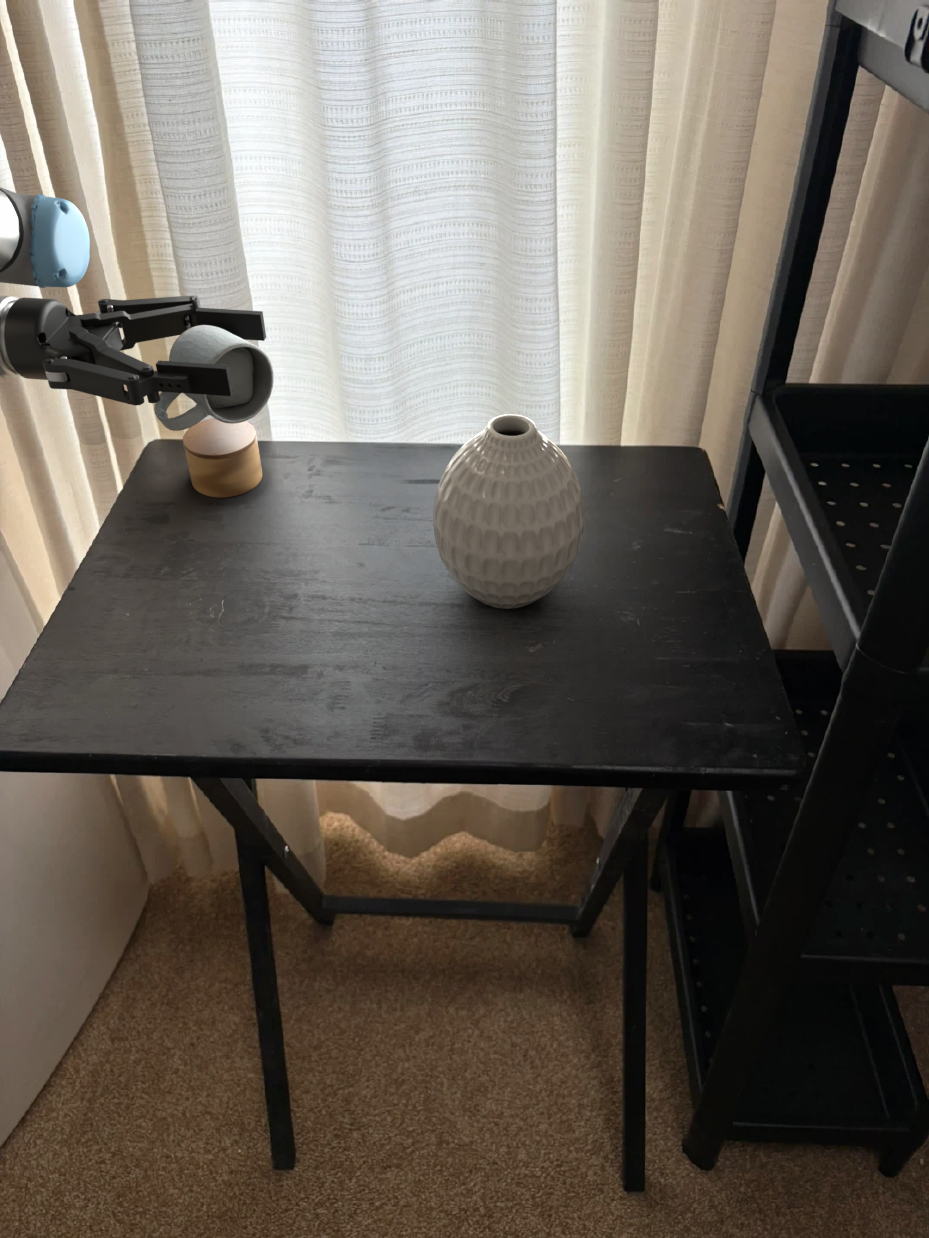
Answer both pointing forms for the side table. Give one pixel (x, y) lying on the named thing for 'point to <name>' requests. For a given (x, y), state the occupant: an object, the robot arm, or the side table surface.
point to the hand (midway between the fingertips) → (247, 352)
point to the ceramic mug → (246, 373)
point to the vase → (508, 514)
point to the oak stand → (223, 457)
